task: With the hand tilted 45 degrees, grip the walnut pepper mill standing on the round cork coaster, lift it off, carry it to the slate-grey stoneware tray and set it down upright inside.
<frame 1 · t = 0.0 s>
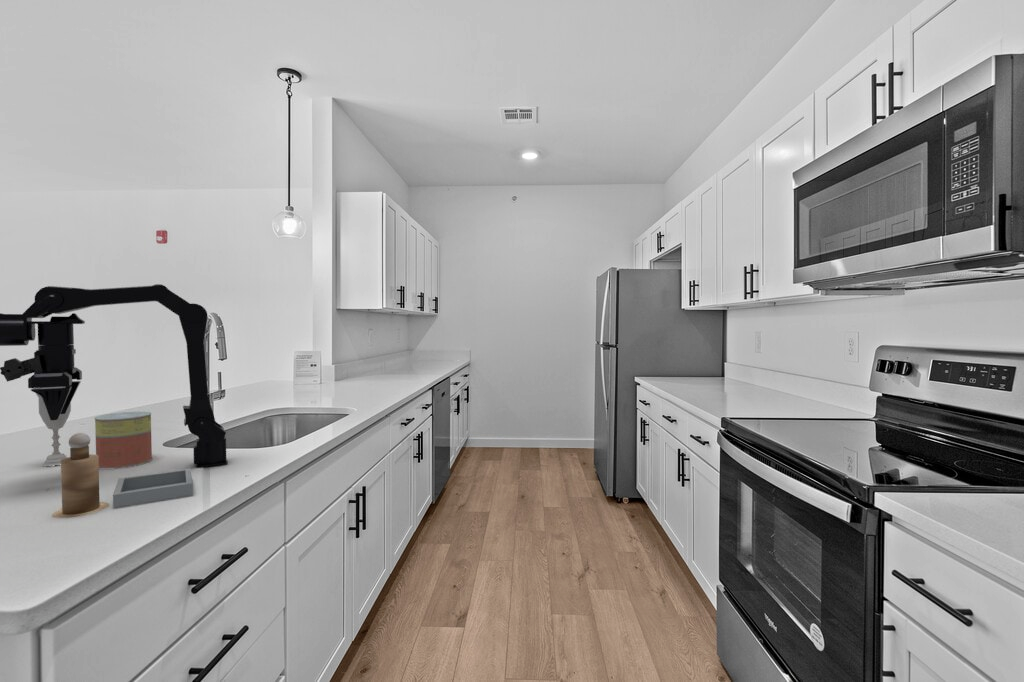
hand: (58, 416, 108), 15 cm above the countertop, tool pointing down, fingers open, 9 cm apart
coaster: (81, 512, 92), on the countertop
canned food: (124, 463, 126), on the countertop
pepper mill: (81, 509, 92), point 1 cm above the countertop, touching coaster
tray: (155, 495, 101), on the countertop
chalice: (56, 464, 125), on the countertop
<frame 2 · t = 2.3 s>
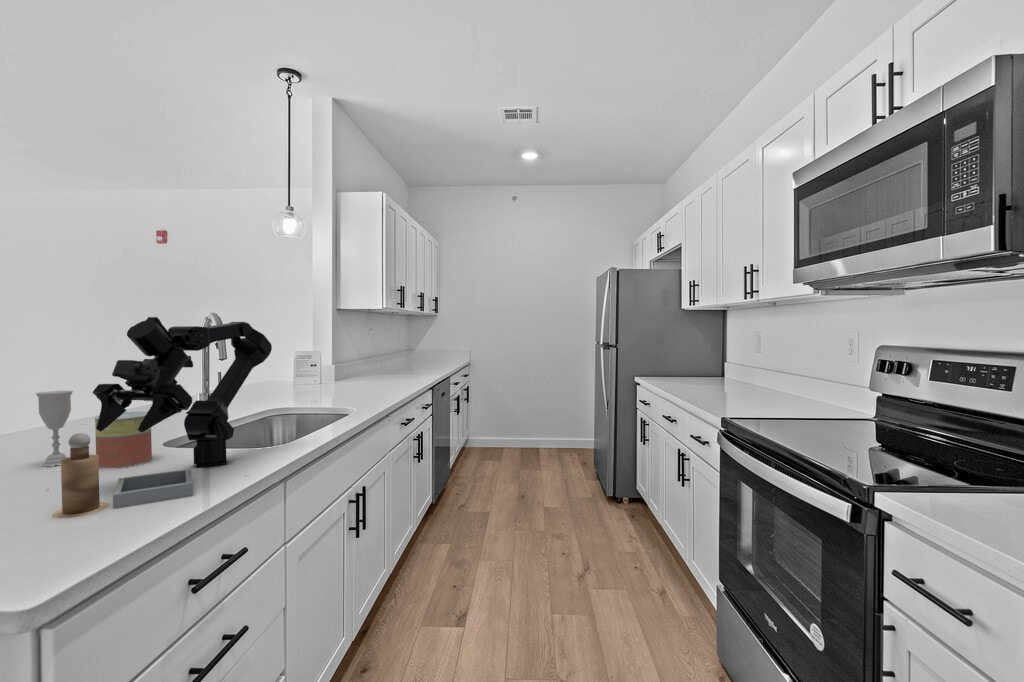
hand: (119, 430, 99), 13 cm above the countertop, tool tilted 45°, fingers open, 9 cm apart
nothing on the countertop moved.
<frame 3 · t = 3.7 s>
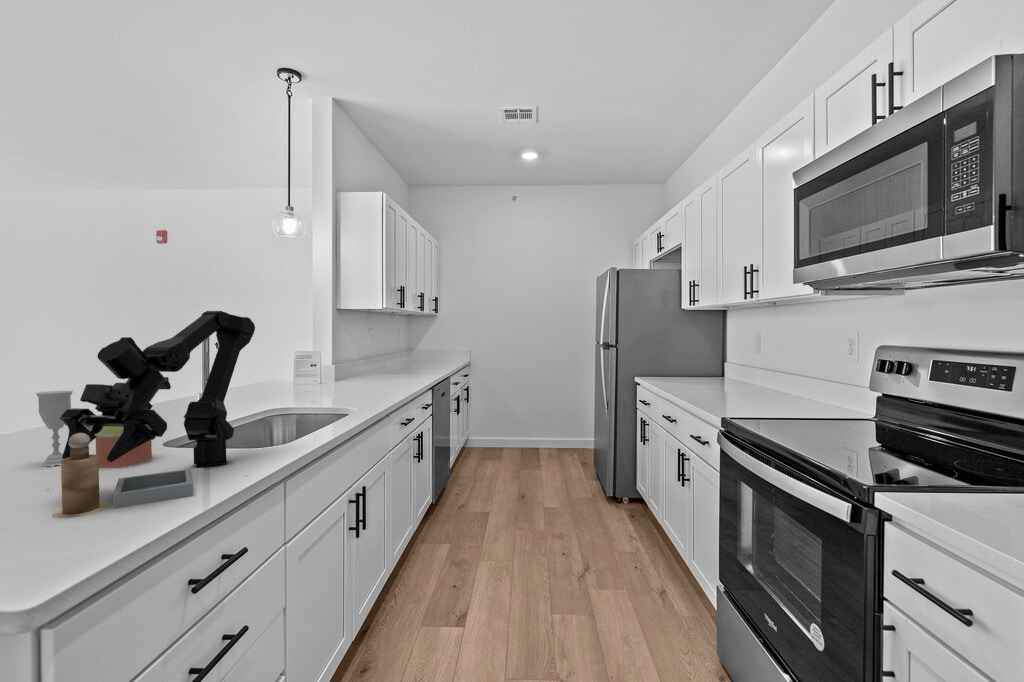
hand: (86, 460, 93), 9 cm above the countertop, tool tilted 45°, fingers open, 9 cm apart
nothing on the countertop moved.
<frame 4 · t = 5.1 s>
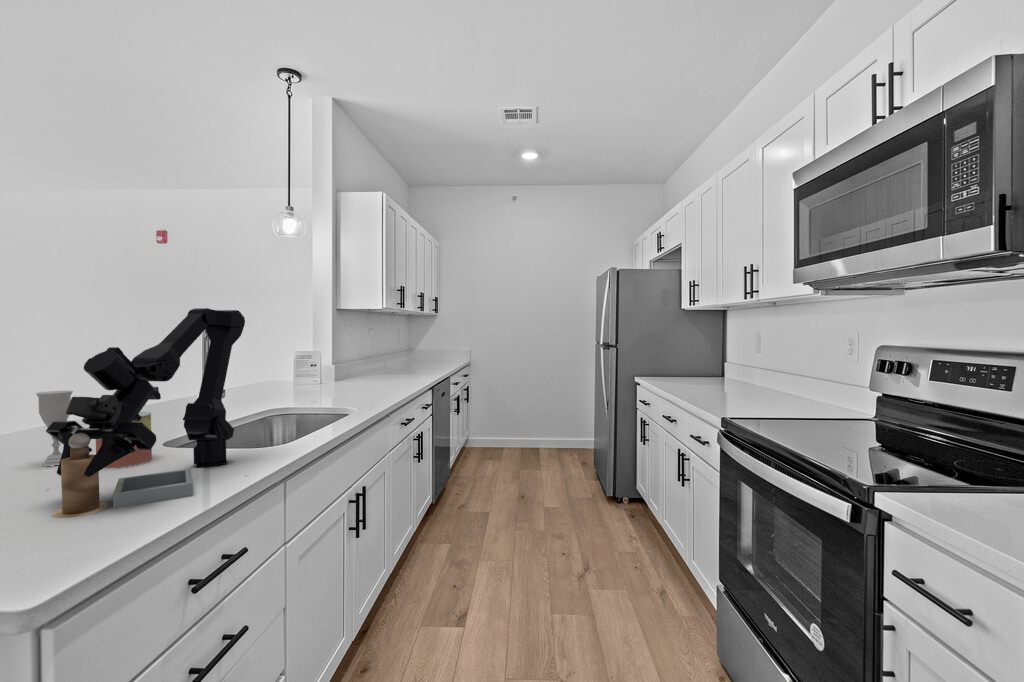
hand: (72, 475, 90), 7 cm above the countertop, tool tilted 45°, fingers closed on pepper mill, 5 cm apart
pepper mill: (81, 509, 92), point 1 cm above the countertop, touching coaster, gripper
everything else where it was.
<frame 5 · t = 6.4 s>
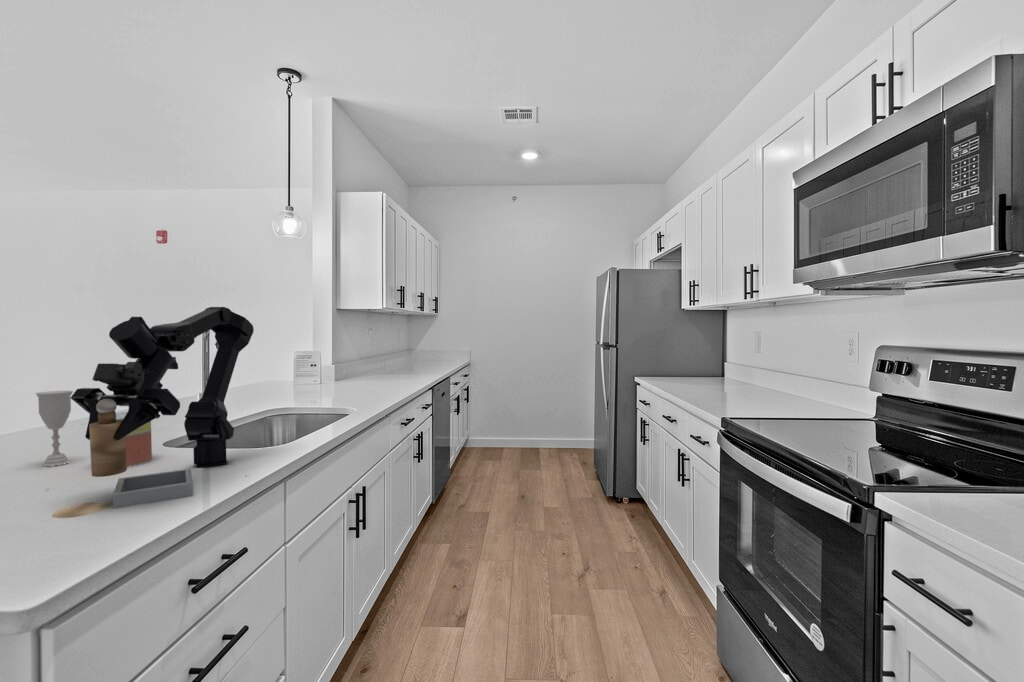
hand: (101, 438, 93), 13 cm above the countertop, tool tilted 45°, fingers closed on pepper mill, 5 cm apart
pepper mill: (109, 472, 95), point 7 cm above the countertop, touching gripper
everything else where it was.
when the fingers open (9 cm above the countertop, at t = 8.0 s): pepper mill drops 2 cm, resting on tray.
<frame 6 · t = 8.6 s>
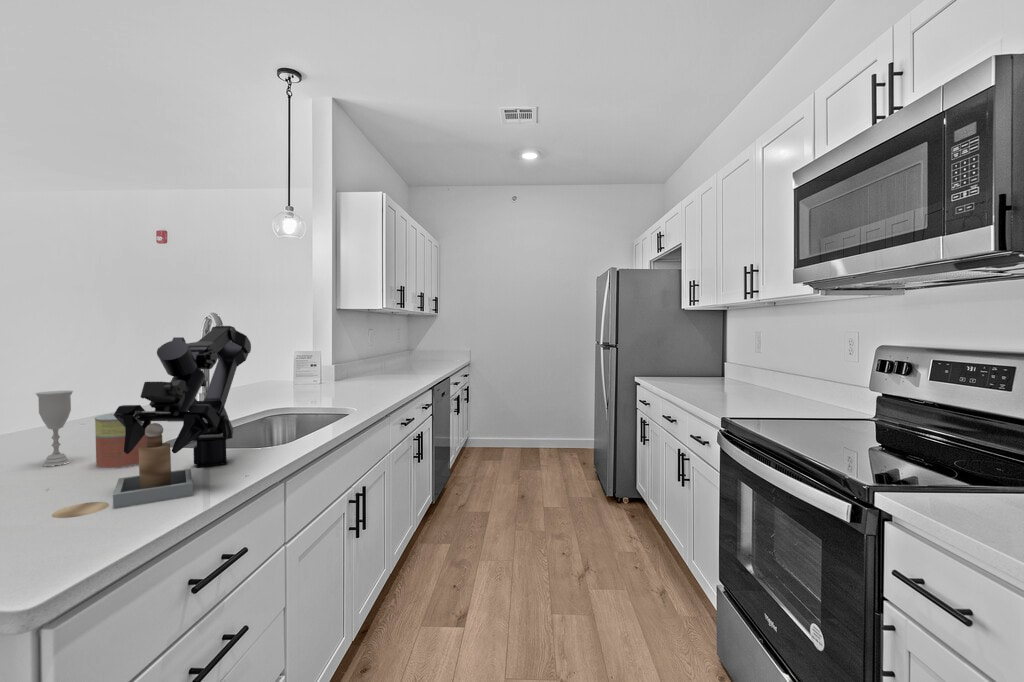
hand: (149, 452, 99), 9 cm above the countertop, tool tilted 45°, fingers open, 9 cm apart
pepper mill: (156, 492, 101), point 1 cm above the countertop, touching tray
everything else where it was.
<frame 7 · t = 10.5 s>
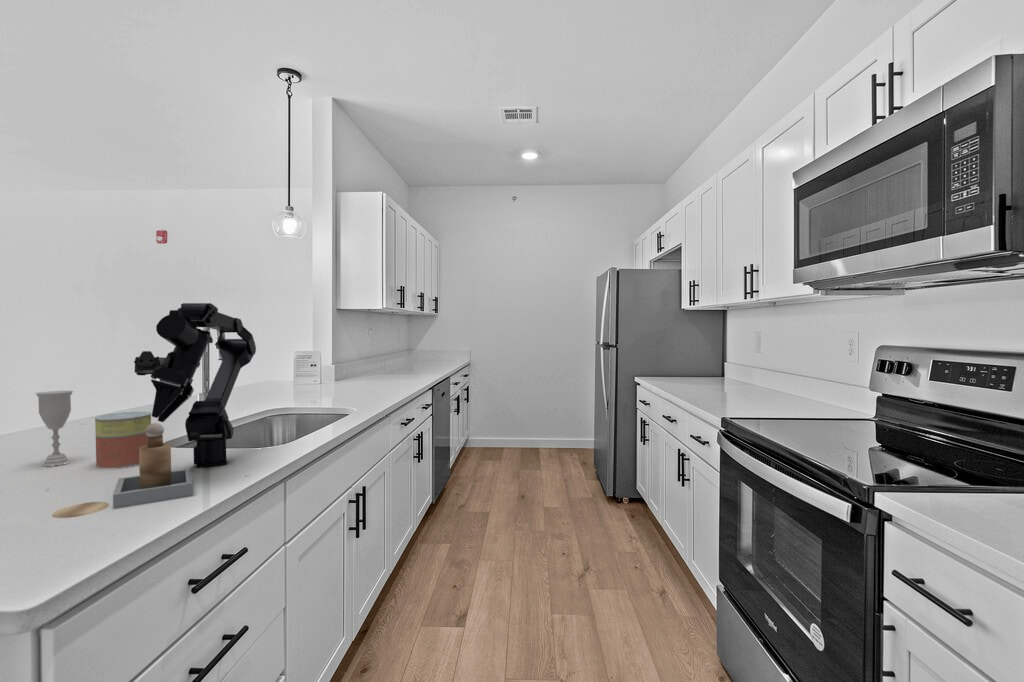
hand: (157, 419, 109), 14 cm above the countertop, tool tilted 25°, fingers open, 9 cm apart
nothing on the countertop moved.
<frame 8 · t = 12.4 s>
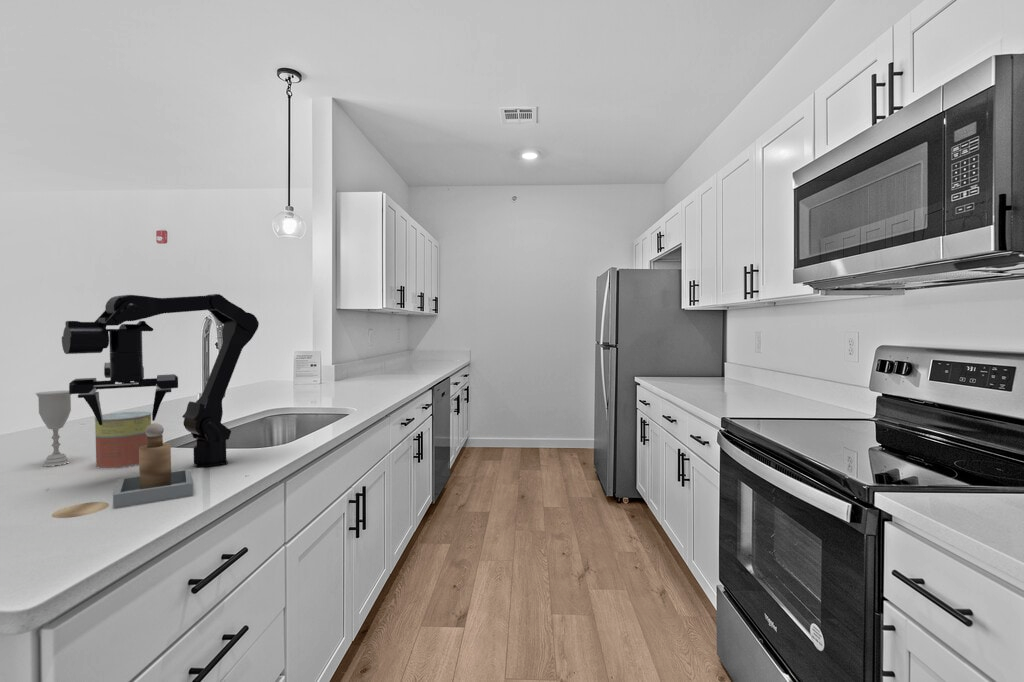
hand: (127, 422, 110), 13 cm above the countertop, tool pointing down, fingers open, 9 cm apart
nothing on the countertop moved.
at the end: pepper mill inside the target area on the tray (0.1 cm from its centre), point 0.6 cm above the tray's base; pepper mill tilted 0°; the gripper is holding nothing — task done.
